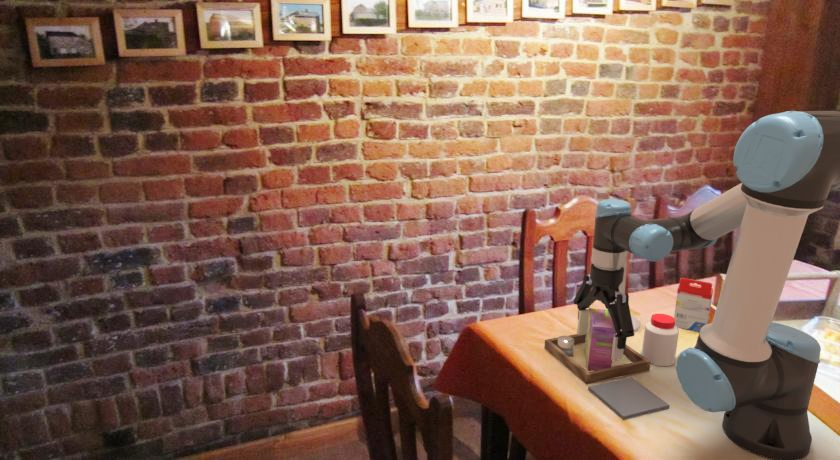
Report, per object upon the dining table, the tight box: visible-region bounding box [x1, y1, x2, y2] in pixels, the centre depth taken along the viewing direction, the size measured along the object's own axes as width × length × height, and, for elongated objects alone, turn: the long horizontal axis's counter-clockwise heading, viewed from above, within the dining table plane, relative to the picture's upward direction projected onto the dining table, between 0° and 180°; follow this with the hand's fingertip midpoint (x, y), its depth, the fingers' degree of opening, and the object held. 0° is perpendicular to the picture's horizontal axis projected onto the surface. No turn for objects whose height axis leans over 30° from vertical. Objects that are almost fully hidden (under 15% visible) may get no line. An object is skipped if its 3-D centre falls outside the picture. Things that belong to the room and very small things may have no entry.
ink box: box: [673, 277, 714, 333], centre depth 159 cm, size 8×5×15 cm, turn 58°
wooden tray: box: [544, 333, 652, 385], centre depth 143 cm, size 18×18×2 cm
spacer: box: [557, 335, 575, 358], centre depth 146 cm, size 4×4×4 cm
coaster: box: [587, 376, 670, 421], centre depth 127 cm, size 12×12×1 cm
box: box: [583, 307, 617, 371], centre depth 141 cm, size 10×6×12 cm, turn 168°
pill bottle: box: [640, 313, 680, 367], centre depth 142 cm, size 8×8×11 cm
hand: (598, 346), depth 142 cm, fingers open, 13 cm apart
